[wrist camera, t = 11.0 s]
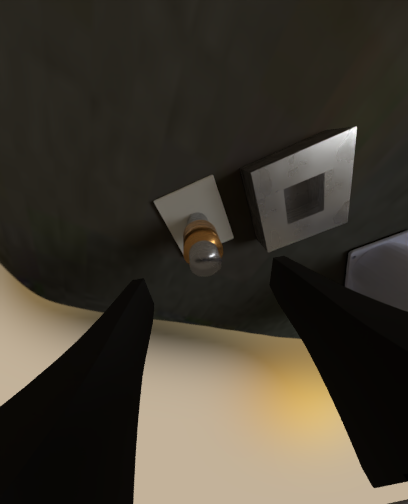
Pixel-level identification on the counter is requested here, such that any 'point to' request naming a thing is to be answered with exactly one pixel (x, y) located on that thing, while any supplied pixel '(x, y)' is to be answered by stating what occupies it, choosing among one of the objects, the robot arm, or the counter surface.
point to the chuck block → (301, 188)
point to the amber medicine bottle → (202, 246)
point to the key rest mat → (194, 208)
